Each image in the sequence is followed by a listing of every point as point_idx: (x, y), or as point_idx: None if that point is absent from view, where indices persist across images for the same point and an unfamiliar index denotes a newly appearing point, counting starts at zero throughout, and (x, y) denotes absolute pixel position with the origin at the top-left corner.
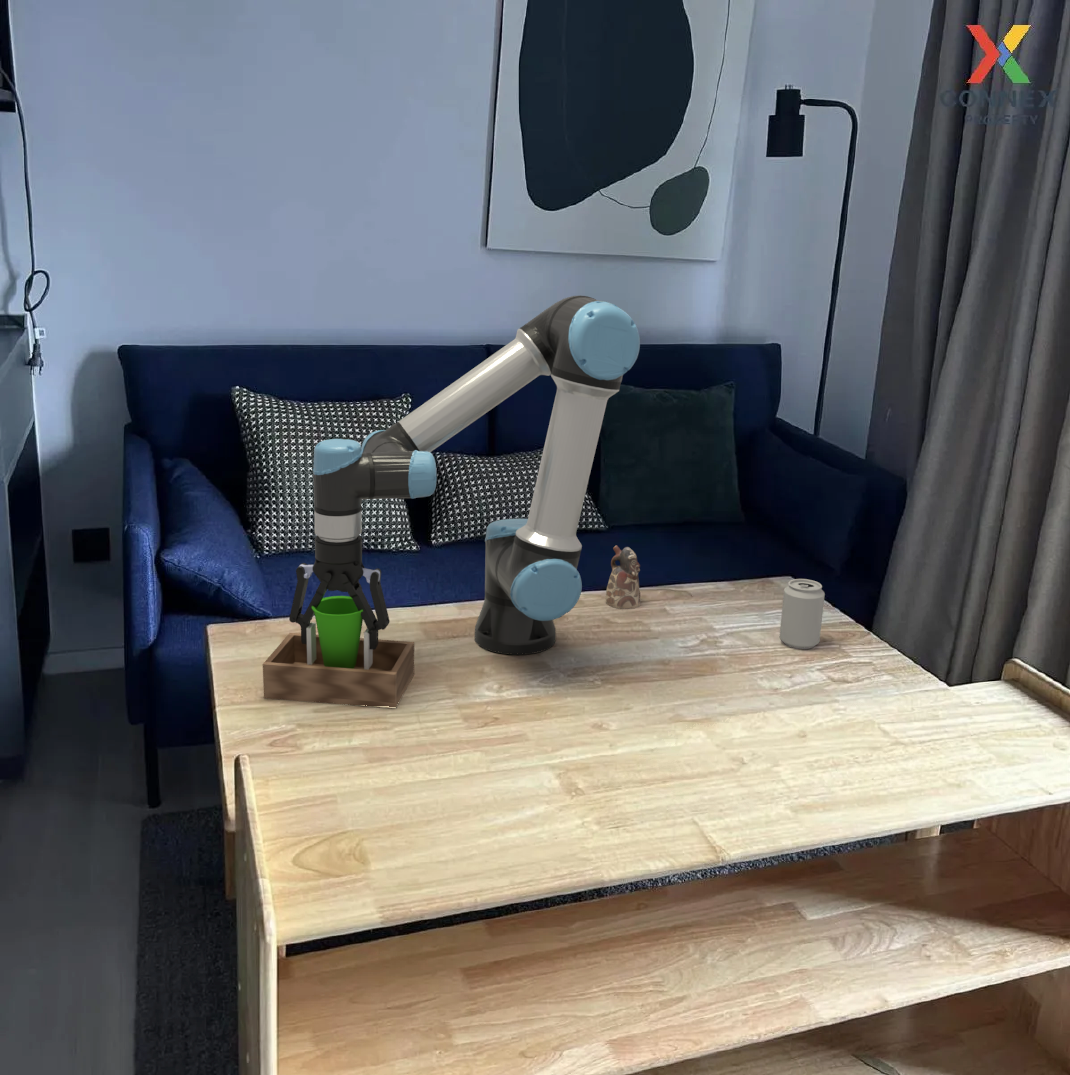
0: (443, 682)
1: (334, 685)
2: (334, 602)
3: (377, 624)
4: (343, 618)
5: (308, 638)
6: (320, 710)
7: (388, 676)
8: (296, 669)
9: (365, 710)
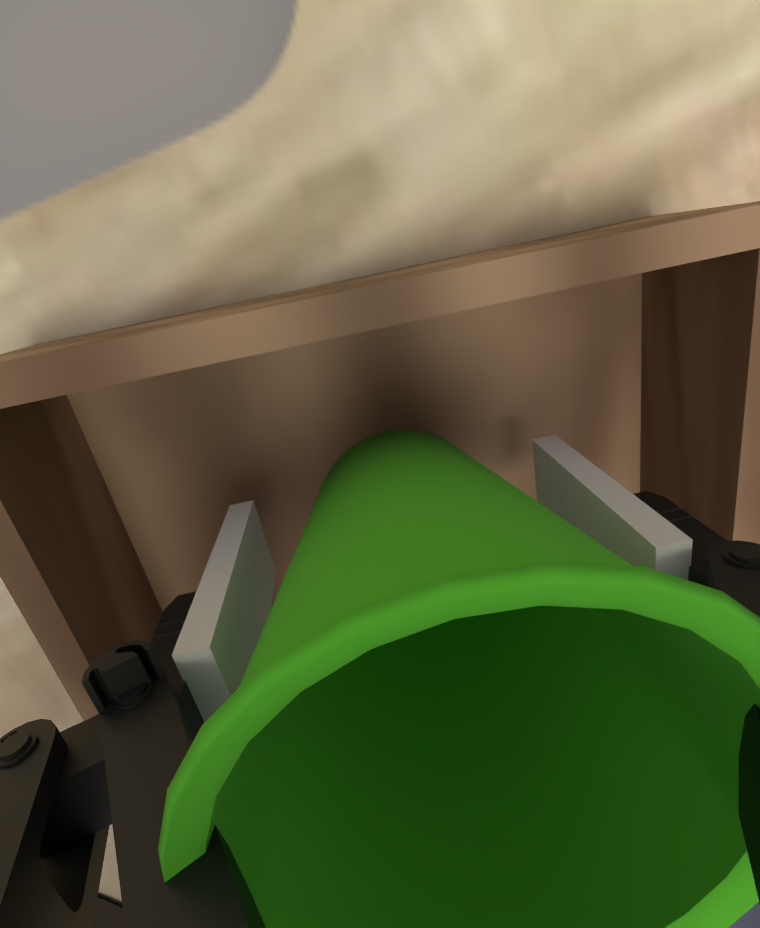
0: (22, 644)
1: (319, 290)
2: (608, 896)
3: (82, 758)
4: (314, 631)
5: (626, 501)
6: (348, 188)
7: None
8: (568, 243)
9: (148, 275)
